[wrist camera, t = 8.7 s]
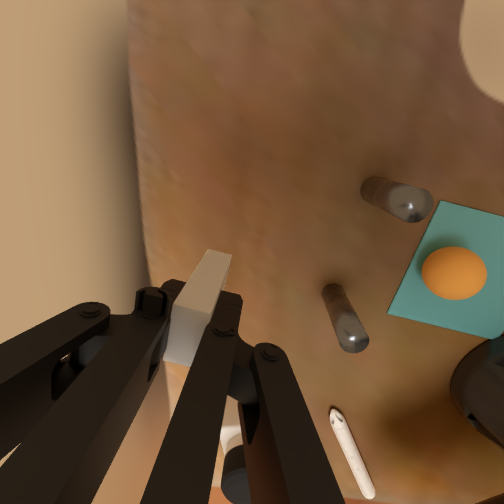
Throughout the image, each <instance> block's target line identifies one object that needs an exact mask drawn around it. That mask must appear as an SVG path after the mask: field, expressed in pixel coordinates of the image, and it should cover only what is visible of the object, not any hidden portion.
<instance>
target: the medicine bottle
mask: <svg viewBox="0 0 504 504" xmlns="http://www.w3.org/2000/svg"><path fill="white" fill-rule="evenodd" d="M237 405H238V401H237V400H235V399H233V398H232V397H230V396H228V395H227V400H226V406H225V411H224V417H223V423H222V428H221V434H220V440H221V444H222V448H223V452H224V456H225V458H224V465H223V472H222V479H221V489H222V492H223V494H224V495H225V497H226V498H227V499H228V500H229V501H230V502H231V503H233V504H251V497H250V490H249V483H248V476H247V469H246V462H245V455H244V448H243V441H242V434H241V427H240V420H239V413H238V406H237Z"/></svg>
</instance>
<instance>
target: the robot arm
mask: <svg viewBox="0 0 504 504" xmlns="http://www.w3.org/2000/svg"><path fill="white" fill-rule="evenodd" d="M231 258H232V255H231V254H227V253H223V252H219V251H215V250H211V249H208V250H207V251H206V253H205V254H204V256H203V257H202V259H201V261H200V262H199V264H198V265H197V267H196V268H195V270H194V272H193V273H192V275H191V276H190V278H189V279H188V281H187V282H183V281H179V280H175V279H171V280H169V281H166V282H164V284H163V285H162V286H161V287H160V288H158V287H145V288H142V289H139V290H138V291H137V292H136V300H135V308H134V311H133V312H132V313H131V314H128V315H113V314H110V308H109V307H108V306H106V305H105V304H103V303H98V302H86V303H81V304H78V305H76V306H74V307H72V308H70V309H68V310H66V311H64V312H62V313H60V314H58V315H56V316H54V317H52V318H50V319H48V320H46V321H44V322H43V323H41V324H39V325H37V326H35V327H33V328H31V329H29V330H27V331H25V332H23V333H21V334H19V335H17V336H15V337H14V338H11V339H9V340H7V341H5V342H3V343H2V344H0V460H1V459H2V458H3V457H5V456H6V455H7V454H8V453H9V452H10V451H12V450H13V449H14V448H15V447H16V446H18V445H19V444H20V443H21V444H20V445H19V446H18V447H17V448H16V449H15V451H14V452H13V453H12V454H11V455H10V457H9V458H8V459H7V460H6V461H5V462H4V464H3V465H2V466H1V467H0V504H91V503H92V501H93V499H94V496H95V495H96V493H97V491H98V489H99V487H100V485H101V483H102V481H103V479H104V477H105V475H106V473H107V471H108V469H109V467H110V465H111V463H112V461H113V459H114V457H115V455H116V453H117V451H118V449H119V447H120V445H121V443H122V441H123V439H124V437H125V435H126V433H127V431H128V429H129V427H130V425H131V423H132V422H133V420H134V417H135V416H136V414H137V411H138V410H139V408H140V406H141V404H142V402H143V399H144V398H145V396H146V394H147V392H148V390H149V388H150V386H151V384H152V382H153V380H154V378H155V376H156V374H157V372H158V370H159V366H160V360H161V358H162V356H163V354H164V359H163V360H164V361H168V362H172V363H176V364H180V365H185V366H189V367H190V370H189V373H188V375H187V378H186V381H185V383H184V386H183V389H182V391H181V394H180V397H179V400H178V402H177V405H176V408H175V410H174V413H173V416H172V418H171V421H170V424H169V426H168V429H167V432H166V435H165V437H164V440H163V443H162V445H161V448H160V451H159V454H158V456H157V459H156V462H155V464H154V467H153V470H152V472H151V475H150V478H149V480H148V483H147V486H146V488H145V491H144V494H143V497H142V499H141V502H140V504H208V502H209V495H210V490H211V485H212V479H213V473H214V468H215V462H216V457H217V451H218V445H219V440H220V434H221V428H222V423H223V417H224V411H225V406H226V400H227V395H228V396H230V397H232V398H233V399H235V400H237V401H238V405H237V406H238V413H239V420H240V427H241V434H242V441H243V448H244V455H245V462H246V469H247V476H248V483H249V490H250V497H251V504H345V501H344V499H343V496H342V494H341V491H340V489H339V486H338V483H337V481H336V478H335V476H334V473H333V471H332V468H331V466H330V463H329V461H328V458H327V456H326V453H325V451H324V448H323V446H322V443H321V441H320V438H319V436H318V433H317V431H316V428H315V426H314V423H313V421H312V418H311V415H310V413H309V410H308V408H307V405H306V403H305V400H304V398H303V395H302V393H301V390H300V388H299V385H298V383H297V380H296V378H295V375H294V373H293V370H292V368H291V365H290V363H289V360H288V358H287V355H286V354H285V352H284V351H283V350H282V349H281V348H280V347H278V346H276V345H274V344H271V343H259V344H257V345H256V346H255V347H253V346H251V345H249V344H247V343H245V342H244V341H243V340H242V339H241V338H240V336H239V334H238V327H239V321H240V315H241V310H242V304H243V300H242V298H241V296H240V295H238V294H234V293H230V292H226V291H224V288H225V284H226V279H227V275H228V271H229V267H230V263H231ZM164 352H165V353H164ZM67 354H68V356H67V357H65V356H66V355H67ZM63 357H65V358H64V359H62V358H63ZM61 359H62V360H61ZM451 395H452V399H453V401H454V403H455V405H456V407H457V408H458V409H459V411H460V412H461V413H462V415H463V416H464V418H465V419H466V420H467V421H468V422H469V423H470V424H471V425H472V426H473V427H474V428H475V429H476V430H478V431H479V432H480V433H481V434H483V435H484V436H485V437H486V438H488V439H489V440H490V441H492V442H493V443H494V444H495V445H497V446H498V447H499V448H501V449H502V450H503V451H504V335H503V336H500V337H497V338H494V339H492V340H490V341H488V342H486V343H484V344H482V345H481V346H479V347H477V348H476V349H475V350H473V351H472V352H471V353H470V354H468V355H467V356H466V357H465V358H464V360H463V361H462V362H461V363H460V365H459V366H458V367H457V369H456V371H455V373H454V375H453V378H452V382H451ZM475 504H504V493H502V494H500V495H497V496H494V497H492V498H489V499H486V500H483V501H481V502H478V503H475Z"/></svg>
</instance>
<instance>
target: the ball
mask: <svg viewBox="0 0 504 504" xmlns="http://www.w3.org/2000/svg"><path fill="white" fill-rule="evenodd" d="M422 278H423V281H424V283H425V285H426V286H427V288H428V289H429V290H430V291H431V292H433V293H434V294H436V295H437V296H439V297H442V298H445V299H450V300H462V299H466V298H469V297H471V296H473V295H475V294H477V293H478V292H479V291H480V290H481V289H482V288H483V286H484V284H485V282H486V278H487V270H486V267H485V264H484V262H483V261H482V259H481V258H480V257H479V256H478V255H477V254H475V253H474V252H472V251H470V250H468V249H465V248H462V247H444V248H441V249H438V250H436V251H434V252H433V253H431V254H430V255H429V256H428V257H427V258H426V260H425V261H424V263H423V266H422Z"/></svg>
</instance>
